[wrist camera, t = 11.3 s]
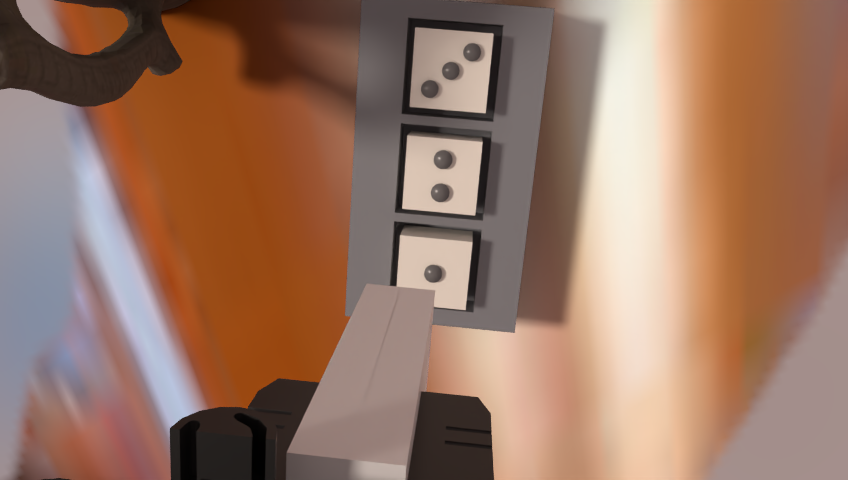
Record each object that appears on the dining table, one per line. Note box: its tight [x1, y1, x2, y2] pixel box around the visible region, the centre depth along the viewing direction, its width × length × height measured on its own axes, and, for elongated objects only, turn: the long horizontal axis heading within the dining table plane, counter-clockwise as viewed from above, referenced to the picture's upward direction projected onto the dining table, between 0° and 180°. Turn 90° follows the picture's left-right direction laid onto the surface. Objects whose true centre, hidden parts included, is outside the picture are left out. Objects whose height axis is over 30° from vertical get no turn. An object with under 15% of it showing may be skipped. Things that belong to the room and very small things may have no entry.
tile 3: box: [410, 27, 494, 113], centre depth 36 cm, size 4×4×3 cm
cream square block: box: [402, 131, 483, 216], centre depth 37 cm, size 4×4×3 cm
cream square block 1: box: [397, 225, 473, 310], centre depth 39 cm, size 4×4×3 cm
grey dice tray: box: [345, 0, 554, 333], centre depth 39 cm, size 10×18×3 cm, turn 176°
